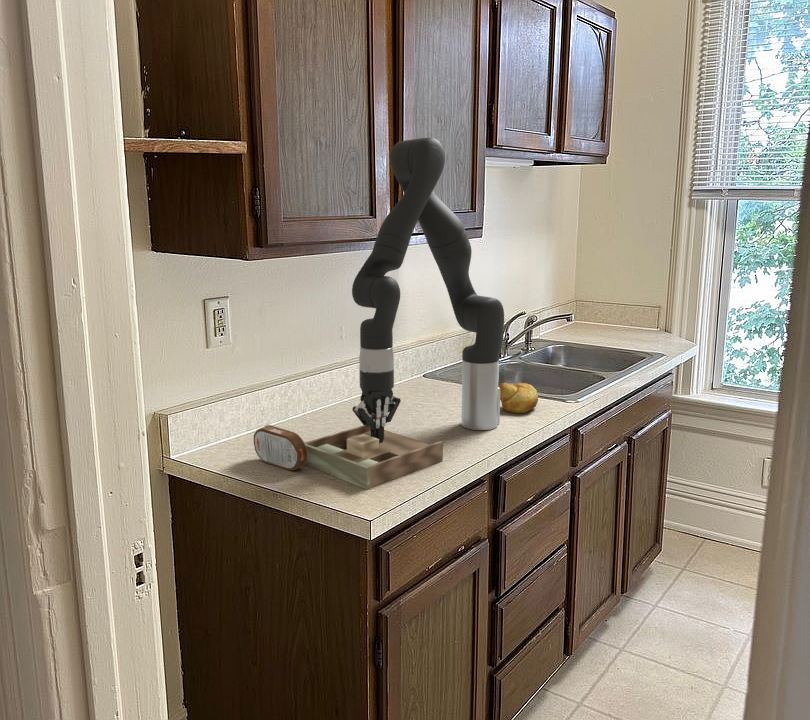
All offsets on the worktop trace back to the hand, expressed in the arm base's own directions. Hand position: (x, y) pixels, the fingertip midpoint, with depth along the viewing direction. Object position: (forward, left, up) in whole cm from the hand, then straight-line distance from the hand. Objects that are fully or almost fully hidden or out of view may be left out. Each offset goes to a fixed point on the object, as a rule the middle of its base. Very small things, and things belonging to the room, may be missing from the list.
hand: (377, 442), depth 169 cm
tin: (+17, -13, -4) cm, 22 cm away
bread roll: (-56, -1, -5) cm, 56 cm away
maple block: (+4, 0, -1) cm, 4 cm away
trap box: (+1, 0, -4) cm, 4 cm away
